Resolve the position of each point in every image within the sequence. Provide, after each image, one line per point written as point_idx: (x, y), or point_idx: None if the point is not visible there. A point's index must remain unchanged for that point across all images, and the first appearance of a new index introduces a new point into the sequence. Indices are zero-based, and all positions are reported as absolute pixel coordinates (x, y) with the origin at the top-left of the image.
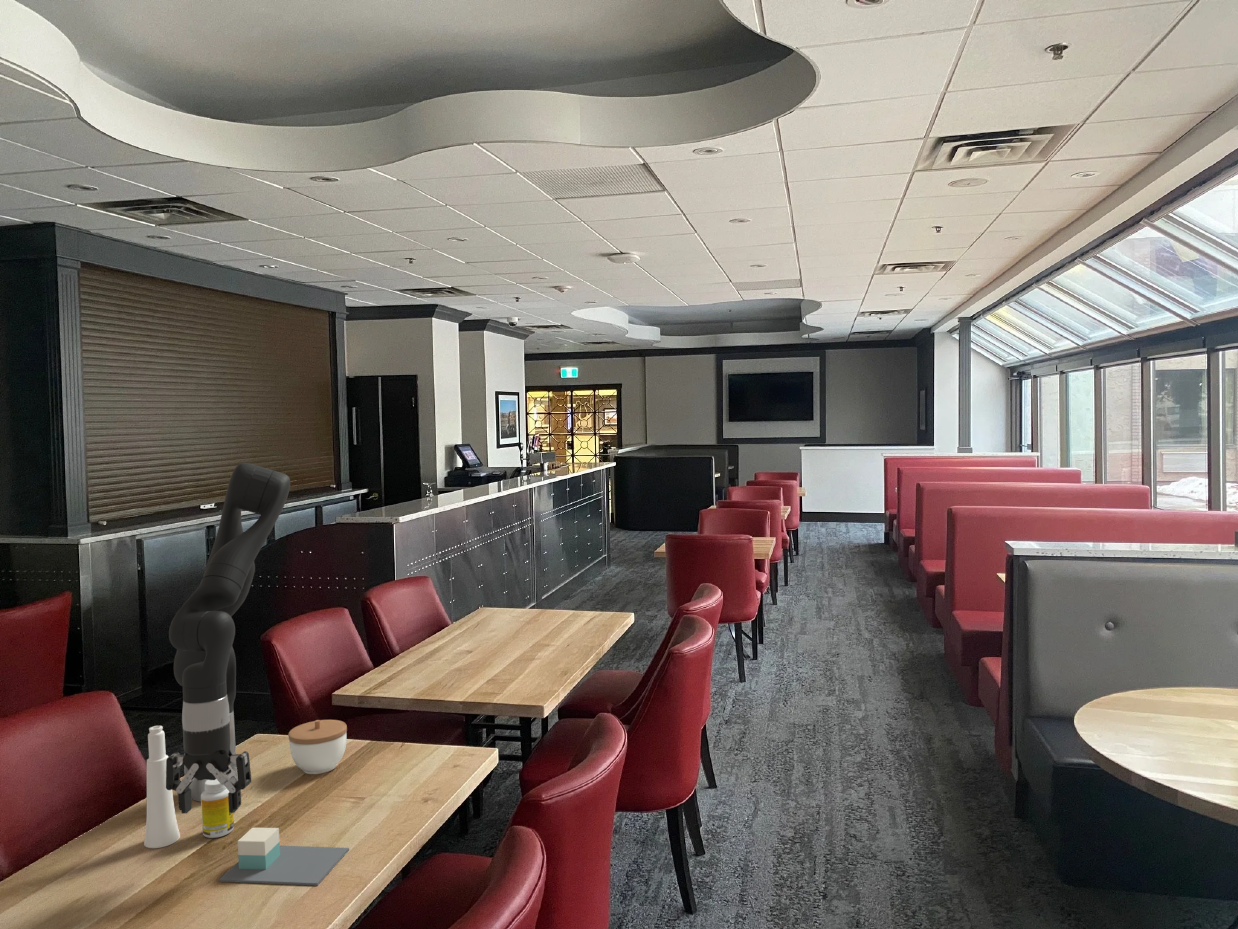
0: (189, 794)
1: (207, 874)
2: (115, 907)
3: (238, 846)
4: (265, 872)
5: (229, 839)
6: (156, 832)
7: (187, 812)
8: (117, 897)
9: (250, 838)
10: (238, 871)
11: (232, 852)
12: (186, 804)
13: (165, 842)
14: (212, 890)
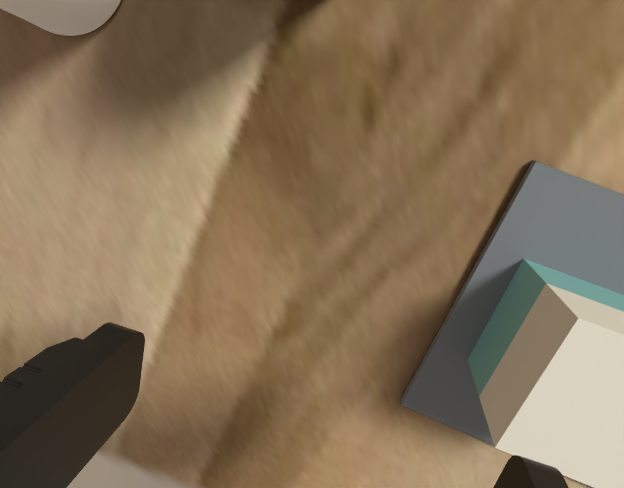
0: (34, 449)
1: (347, 332)
2: (129, 422)
3: (491, 427)
4: None
5: (379, 24)
6: (10, 7)
7: (139, 381)
8: None
9: (568, 446)
10: (467, 377)
11: (415, 178)
12: (91, 442)
13: (89, 19)
14: (388, 442)
